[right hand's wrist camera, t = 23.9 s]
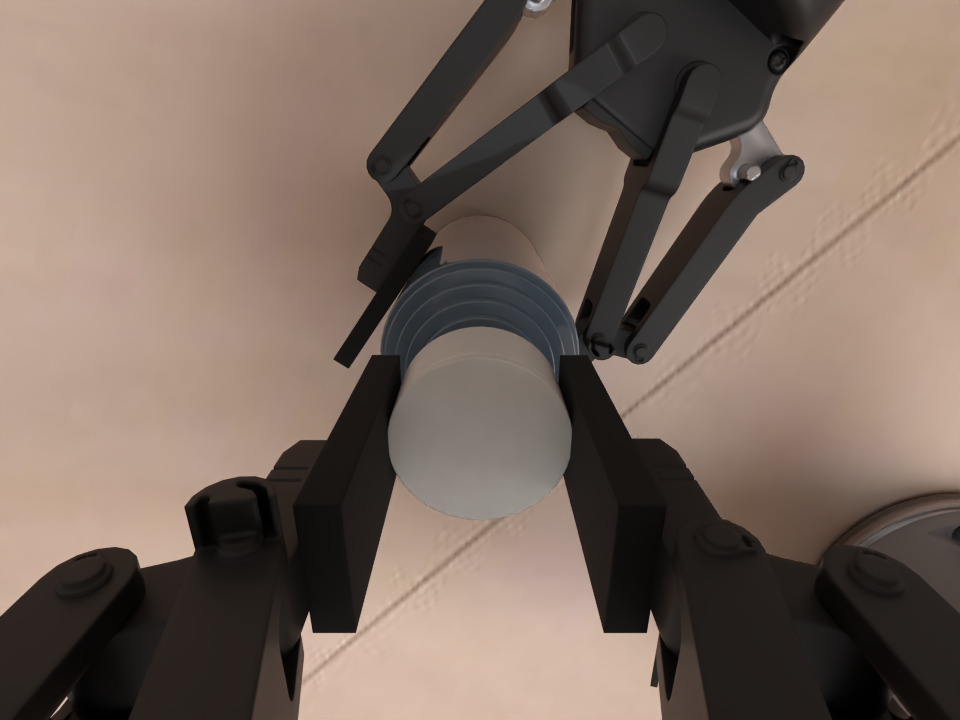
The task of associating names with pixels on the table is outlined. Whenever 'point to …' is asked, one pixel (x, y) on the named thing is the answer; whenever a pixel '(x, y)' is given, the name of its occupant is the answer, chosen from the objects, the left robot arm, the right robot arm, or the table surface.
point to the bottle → (480, 293)
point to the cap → (480, 425)
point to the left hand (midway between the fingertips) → (418, 395)
